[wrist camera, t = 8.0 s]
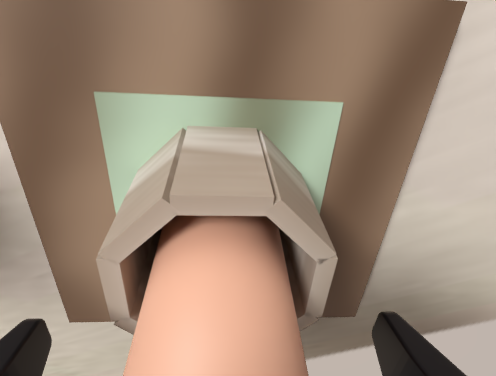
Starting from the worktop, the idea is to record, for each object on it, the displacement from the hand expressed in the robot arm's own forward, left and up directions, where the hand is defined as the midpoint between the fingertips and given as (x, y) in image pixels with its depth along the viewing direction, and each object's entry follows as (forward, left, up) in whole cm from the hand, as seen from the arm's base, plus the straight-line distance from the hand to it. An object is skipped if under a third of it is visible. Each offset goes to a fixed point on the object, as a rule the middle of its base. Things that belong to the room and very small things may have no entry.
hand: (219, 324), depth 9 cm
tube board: (0, 0, -7) cm, 7 cm away
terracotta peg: (0, 0, -6) cm, 6 cm away
